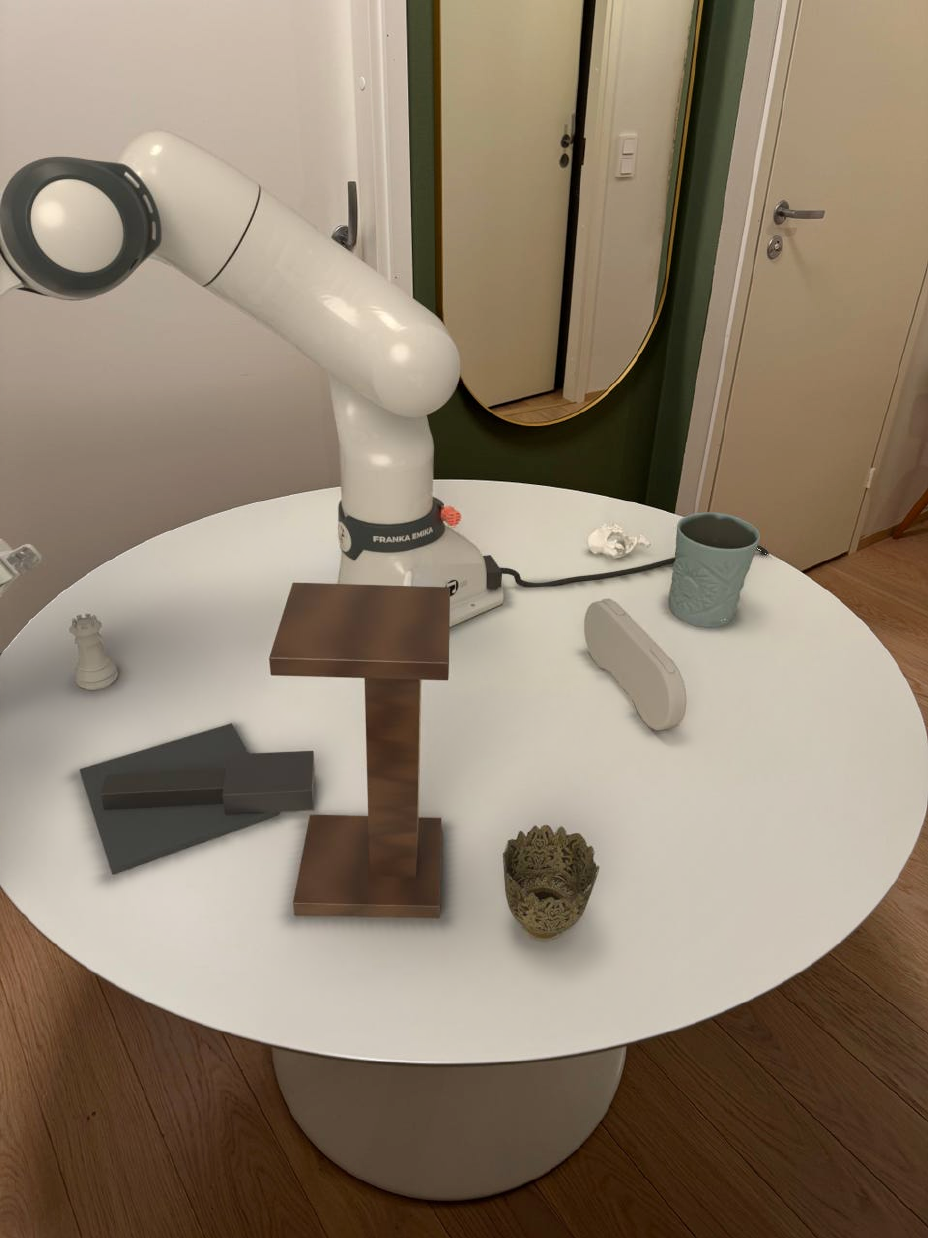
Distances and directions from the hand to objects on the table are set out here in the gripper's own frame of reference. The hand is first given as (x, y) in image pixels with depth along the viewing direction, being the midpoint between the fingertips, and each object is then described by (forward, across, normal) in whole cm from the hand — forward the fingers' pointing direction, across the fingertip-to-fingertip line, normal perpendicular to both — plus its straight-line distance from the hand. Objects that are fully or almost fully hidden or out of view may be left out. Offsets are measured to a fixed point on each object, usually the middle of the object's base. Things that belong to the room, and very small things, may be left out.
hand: (9, 583), depth 69 cm
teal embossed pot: (+47, +38, +55) cm, 82 cm away
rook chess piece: (-16, +19, +19) cm, 31 cm away
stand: (+13, -7, +35) cm, 38 cm away
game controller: (+36, +20, +48) cm, 64 cm away
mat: (-4, +2, +26) cm, 26 cm away
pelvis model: (+40, +53, +50) cm, 83 cm away
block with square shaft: (0, +1, +27) cm, 27 cm away
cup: (+25, -13, +42) cm, 51 cm away
